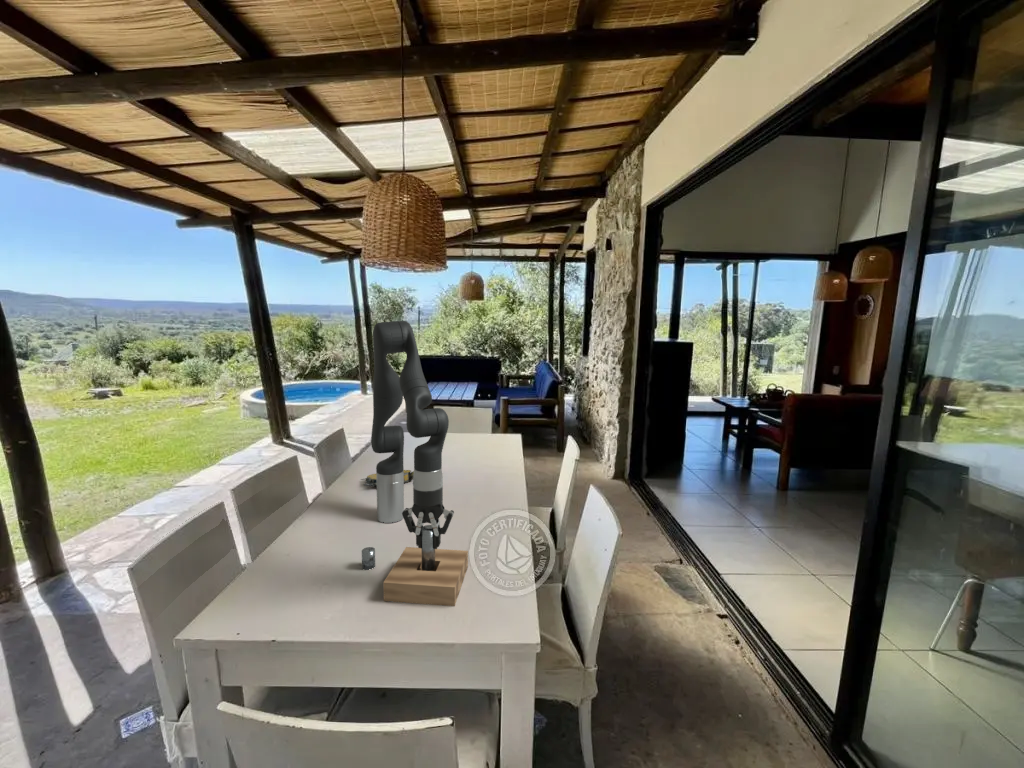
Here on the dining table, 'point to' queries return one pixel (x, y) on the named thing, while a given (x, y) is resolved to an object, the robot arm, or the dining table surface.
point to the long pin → (427, 548)
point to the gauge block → (426, 578)
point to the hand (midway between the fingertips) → (428, 546)
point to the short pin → (368, 558)
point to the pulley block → (372, 479)
